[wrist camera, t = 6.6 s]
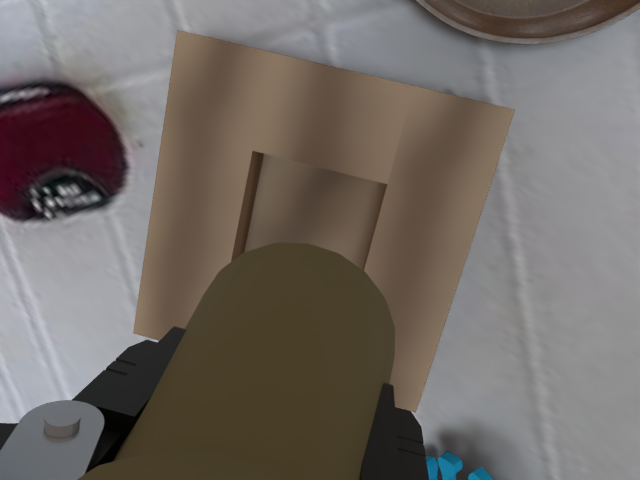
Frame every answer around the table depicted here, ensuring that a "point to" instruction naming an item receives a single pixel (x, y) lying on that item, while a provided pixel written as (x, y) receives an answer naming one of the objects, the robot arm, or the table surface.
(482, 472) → the gear
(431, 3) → the plant saucer
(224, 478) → the olive knobbed peg
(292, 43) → the table surface
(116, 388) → the robot arm
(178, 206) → the socket block
